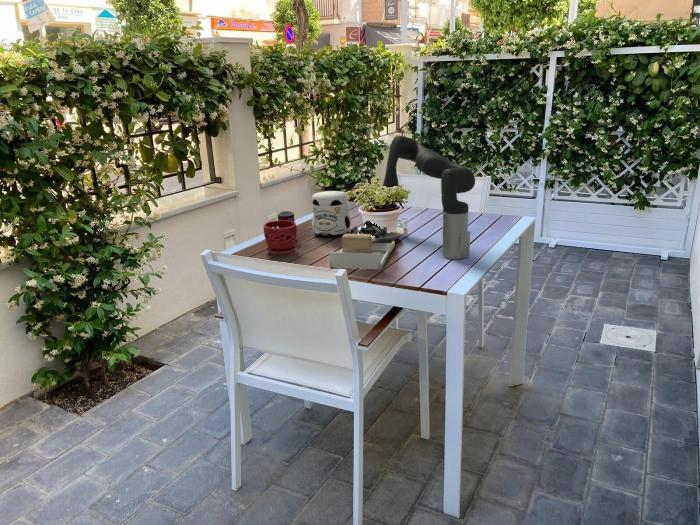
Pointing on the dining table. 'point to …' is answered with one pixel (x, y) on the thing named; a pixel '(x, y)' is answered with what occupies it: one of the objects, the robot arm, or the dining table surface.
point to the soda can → (286, 216)
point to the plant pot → (280, 237)
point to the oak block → (357, 243)
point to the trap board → (363, 257)
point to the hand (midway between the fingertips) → (365, 236)
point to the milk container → (330, 214)
